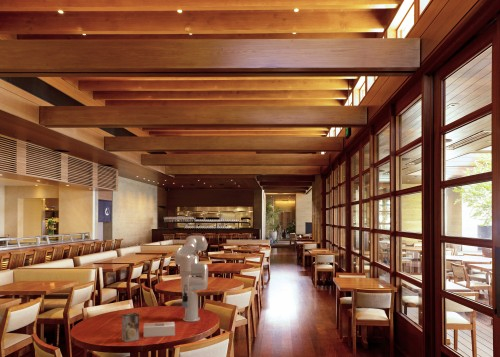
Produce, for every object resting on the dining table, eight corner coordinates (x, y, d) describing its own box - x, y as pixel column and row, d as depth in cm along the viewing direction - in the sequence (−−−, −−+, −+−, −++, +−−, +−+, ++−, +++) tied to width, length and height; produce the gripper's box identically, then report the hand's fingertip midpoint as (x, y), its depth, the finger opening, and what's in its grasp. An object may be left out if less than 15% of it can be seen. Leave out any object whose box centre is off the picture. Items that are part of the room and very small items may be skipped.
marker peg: (181, 306, 325) (182, 288, 325) (187, 306, 325) (187, 288, 326) (182, 307, 321) (182, 289, 321) (188, 307, 321) (188, 289, 322)
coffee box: (135, 337, 308) (135, 312, 309) (139, 339, 302) (139, 314, 303) (121, 340, 302) (121, 314, 303) (125, 342, 297) (125, 316, 298)
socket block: (143, 332, 320) (144, 323, 321) (174, 330, 324) (174, 321, 325) (143, 337, 309) (143, 327, 309) (174, 335, 313) (174, 326, 313)
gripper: (179, 272, 332) (178, 298, 331) (180, 275, 315) (180, 303, 314) (189, 271, 333) (189, 298, 332) (191, 275, 317) (191, 303, 316)
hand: (185, 300), depth 323 cm, fingers closed on marker peg, 4 cm apart
